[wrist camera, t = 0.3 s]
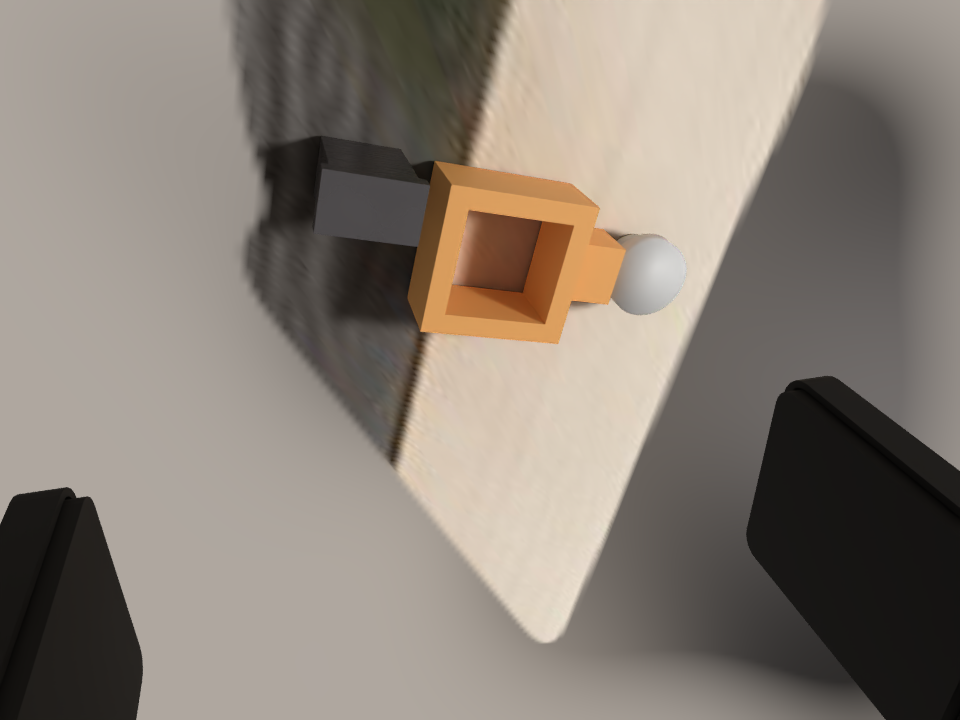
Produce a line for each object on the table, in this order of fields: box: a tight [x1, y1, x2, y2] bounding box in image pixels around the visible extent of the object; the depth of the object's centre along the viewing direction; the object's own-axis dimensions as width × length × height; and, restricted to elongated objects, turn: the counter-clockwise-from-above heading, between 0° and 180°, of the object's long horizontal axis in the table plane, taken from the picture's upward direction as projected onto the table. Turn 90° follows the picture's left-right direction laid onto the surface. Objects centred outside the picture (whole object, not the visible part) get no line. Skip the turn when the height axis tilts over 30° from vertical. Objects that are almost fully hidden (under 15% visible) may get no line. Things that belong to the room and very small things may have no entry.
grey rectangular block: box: [312, 136, 430, 247], centre depth 39 cm, size 3×5×6 cm, turn 77°
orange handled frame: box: [407, 161, 686, 344], centre depth 45 cm, size 17×9×4 cm, turn 77°
